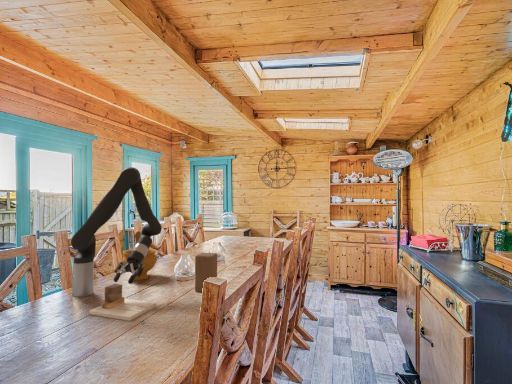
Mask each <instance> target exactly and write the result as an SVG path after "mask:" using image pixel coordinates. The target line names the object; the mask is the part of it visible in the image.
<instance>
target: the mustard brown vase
mask: <svg viewBox="0 0 512 384" xmlns="http://www.w3.org/2000/svg"><path fill="white" fill-rule="evenodd" d="M140 234H141V231H140V230H138V231H136V232H135V234H134V239H135V243H134V245H133V247H134V246H135V245H136V243H137V242H138V240H139V238H140ZM132 249H133V248H131V249H130V248H129V249H127V250H123V251H122V254H123V255H124V256H123V257H122V259H121V262H122V263H125V262H126V261H127V257H128V256H129V254H130V252H131V251H132ZM156 252H157V249H156V248H149V250H148V252H147V254H146V256H145V258H144V260H143V262H142V264H143V265H144V266H145V267H144V269H143V271H142V273H141V276H137V277H135V279H134V280H135V281H140V280H145V279H148V278H149V275H148V272H149V271H151V270H152V269H153V268H154V267H155V265H156V263H157V262H158V261H157V260H158V256H157V255H156ZM136 270H138V269H136Z"/></svg>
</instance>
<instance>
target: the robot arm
mask: <svg viewBox="0 0 512 384" xmlns="http://www.w3.org/2000/svg"><path fill="white" fill-rule="evenodd" d="M129 190H130V191H131V193H132V196H133V200H134V205H135V207H136V210H137V213H138V216H139V218H140V220H141V221H143V222H146V224H145V225H144V226H143V227H142V229H141V231H140V233H141V234H140V238H139V240H138V242H137V243H136V242H135V243H136V245H135V244H134V245H135V246H134V245H133V246H132V248H131V249H132V251H131V252H130V254H129V256H128V257H127V261H126V262H125V263H122V261H120V262H119V263H118V265H117V266H116V267H115V269H114V270H113V272H114V273H115V276H114V277H113V282H114V283H118V282H119V279H120V278H121V276H122V275H124V274H126V273H131V275H130V277H129V279H128V280H127V283H128V284H130V285H132V283H134V279H135V277H137V276H141V273H142V271H143V269H144V267H145V266H144V265H143V264H142V262H143V260H144V258H145V256H146V254H147V252H148V250H149V248H150V247H151V246H152V244H153V238H152V236H158V235H160V234H161V233H162V230H163V228H162V223H160V221H159V219H158V218H157V217H156V216H155V214H154V212H153V209H152V207H151V205H150V203H149V200H148V198H147V195H146V192H145V189H144V187H143V181H142V178H141V172H140V171H139V170H138V168H136V167H126V168H124V169H122V171H121V173H120V174H119V176H118V178H117V179H116V181H115V183H114V184H113V185H112V187H111V189H110V190H108V191H107V193H105V195H104V196H103V197H102V199H101V200H100V201H99V203H98V204H97V205H96V206H95V208H94V210H93V211H92V212H91V213H90V215H89V217H88V218H87V219H86V221H85V222H84V224H82V226H81V227H80V228H79V229H78V230H77V231H76V232H75V233H74V234H73V236H72V237H71V241H70V244H71V247H72V249H74V250H75V251H76V253H75V254H76V255H75V256H74V257H73V276H72V277H71V279H72V280H71V296H73V297H76V298H77V297H78V298H83V297H88V296H91V295H93V294H94V274H95V273H94V270H95V269H94V263H95V262H94V261H95V259H94V258H95V255H96V244H97V241H96V240H97V239H96V236H95V234H96V233H97V232H98V230H99V229H101V227H103V226H104V225H105V224H106V223H108V221H109V220H111V218H112V217H113V216H114V215H115V213H116V212H117V210H118V209H119V207H120V205H122V202H123V200H124V198H125V196H126V194H127V193H128V192H129ZM136 269H138V270H136Z"/></svg>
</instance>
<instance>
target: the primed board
mask: <svg viewBox="0 0 512 384" xmlns="http://www.w3.org/2000/svg"><path fill="white" fill-rule="evenodd" d="M155 307H157V302H152V301H145V300H144V301H143V300H137V299H131V298H124V303H122V304H120V305H118V306H116V307H114V308H112V309H105V308H102V304H101V305H100V306H97V307H95V308H92V309H90V310H89V311H88V314H89V315H93V316H97V317H98V316H99V317H104V318H110V319H117V320H122V321H128V322H131V321H132V320H134V319H135V318H138V317H140V316H141V315H143V314H145V313H147V312H149V311H150V310H152V309H154V308H155Z"/></svg>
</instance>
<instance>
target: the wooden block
mask: <svg viewBox="0 0 512 384" xmlns="http://www.w3.org/2000/svg"><path fill="white" fill-rule="evenodd" d="M194 258H195V259H194V290H195V292H196V293H203V292H202V288H203V282H204V280H206V279H207V278H209V277H217V278H218V254H217V253H216V252H201V253H198V254H196V255H195V257H194Z"/></svg>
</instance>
